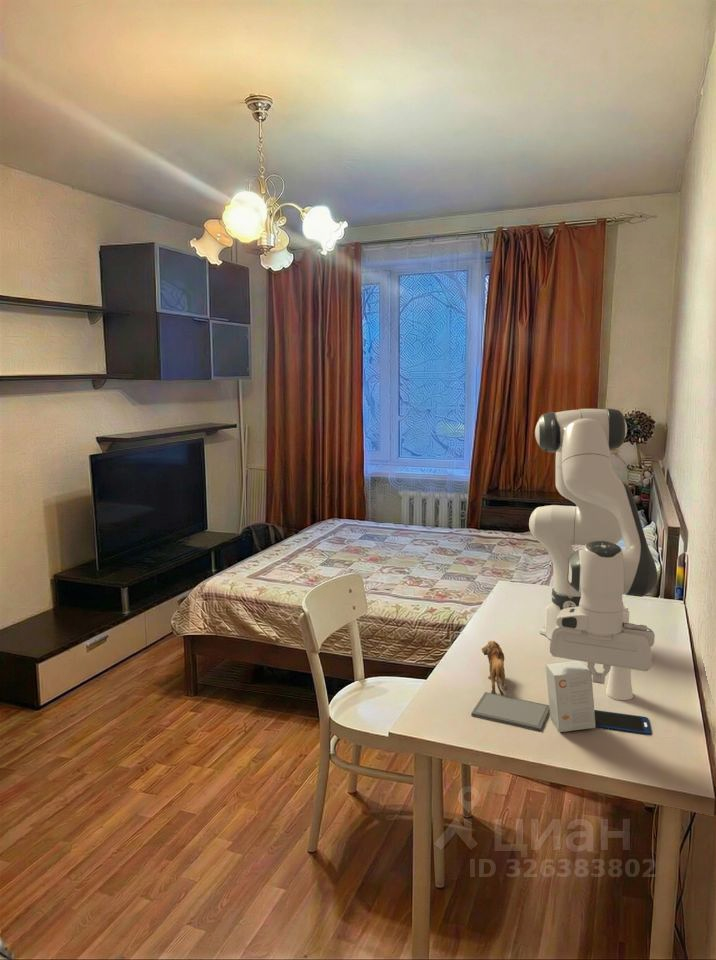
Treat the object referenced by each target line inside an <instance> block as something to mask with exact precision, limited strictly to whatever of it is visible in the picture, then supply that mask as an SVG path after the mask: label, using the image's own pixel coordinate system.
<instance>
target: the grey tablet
mask: <svg viewBox="0 0 716 960" xmlns="http://www.w3.org/2000/svg"><path fill="white" fill-rule="evenodd" d="M549 714H550V707H549V704H545V703H541V702H535V701H532V700H531V701H530V700H526V699H522V698H521V699H520V698H516V697H510V696H506V695H504V696H502V695H501V694H496V693H495V694H492V693H491V692H487V691H485V692H484V693H483V695H482V696H481V698H480V699H479V700H478V703H477V704H476V705H475V707H474V708H473V710H471V714H470V715H471V716H472V717H476V718H482V719H484V720H485V719H486V720H490V721H493V722H500V723H503V724H508V725H513V726H516V727H520V726H521V727H522V728H525V727H526V728H525V729H529V730H535V731H538V730H539V731H538V732H541V731H542V728H543V727H544V724H545V722H546V720H547V717H548V716H549ZM521 727H520V728H521ZM530 728H531V729H530Z"/></svg>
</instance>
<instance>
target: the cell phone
mask: <svg viewBox="0 0 716 960" xmlns="http://www.w3.org/2000/svg"><path fill="white" fill-rule="evenodd" d="M594 712H595V727H596V728H595V729H601V728H602V729H603V730H608V729H609V731H610V730H611V731H616V732H623V733H631V734H637V735H644V736H651V735H652V734H653V733H652V728H651V723H650V722H651V721H650V719H649V718H648V717H647V716H643V715H642V716H641V715H633V714H627V713H619V712H612V711H605V710H598V709H594Z"/></svg>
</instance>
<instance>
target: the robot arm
mask: <svg viewBox="0 0 716 960" xmlns="http://www.w3.org/2000/svg"><path fill="white" fill-rule="evenodd" d="M627 433H628V426H627V421H626V419H625V416H624V414H623V412H622V411H620V410H619V409H614V408H605V409H604V408H603V409H602V408H579V409H570V410H563V411H557V412H554V411H550V412H547V413H542V414H541V415H540V417H539V418H538V421H537V422H536V425H535V429H534V437H535V440H536V443H537V445H538V447H539V448H540V449H541V450H542V451H544V452H546V453H550V454H551V453H552V454H555V488H556V490H557V492H558V493H559V494H560V495H561V496H562V497H564V498H565V499H566V500H569V501H570V502H572V503H574V505H575V506H574V505H560V504H559V505H558V504H551V505H544V506H538V507H535V509H534V510H533V511H532V512H531V514H530V517H529V520H528V521H529V522H528V527H529V531H530V533H531V535H532V536H533V537H534V539H535V540H536V541H538V542H539V543H540V544H541V545H543V547H544V548H545V549H546V551H547V553H548V554H549V556H550V559H551V562H552V570H553V588H552V589H551V603H549V604H548V606H546V609H545V620H544V621H545V622H544V623H545V624H544V625H542V626H540V628H539V629H538V632H539V634H541V635H544V636H546V637H547V638H548V639H549V640H550V642H549V653H550V654H551V656H552V657H554V658H559V659H566V660H571V661H577V660H578V661H582V662H583V663H587V665H586V666H587V667H588V668H589V670H590V672H591V674H592V683H594V684H600V685H605V682H606V677H607V675H608V674H609V673H610V668H611V666H615V667H622V668H628V669H631V670H636V671H642V672H648V671H649V670H650V669H651V668H652V662H653V661H652V647H653V646H654V644H655V639H656V638H655V633H654V631H653V630H652V629H651V628H649V627H648V626H647V625H645V624H640V625H639V624H635V623H630V622H629V623H624V622H623V617H624V606H625V605H624V602H623V595H625V596H629V597H631V596H632V597H640V598H641V597H642V598H643V597H644V596H645V595H647V594H649V593H650V592H651V591H652V590H653V589H654V588H655V587H656V586H657V583H658V570H657V566H656V562H655V559H654V557H653V555H652V552H651V549H650V546H649V545H648V542H647V539H646V534H645V532H644V527H643V524H642V522H641V521H642V520H641V518H640V514H639V511H638V508H637V505H636V501H635V499H634V496H633V493H632V491H631V489H630V487H629V485H628V484H627V483H626V482H623V481H621V480H620V478H619V477H618V476H617V474H616V473H615V471H614V469H613V465H612V459H611V450H617V449H618V448H620V447H621V446H622V445H624V443H625V439H626V437H627ZM622 539H623V543H624V546H625V549H624V550H622V548H621V546H619V545H618V543H619V542H620V541H621V540H622ZM573 546H584V547H583V549H579V550H578V549H577V550H574V548H573ZM623 627H624V628H623ZM596 664H598V665H602V669H603V671H602V672H598V671H597V669H596V668H595V667H596Z"/></svg>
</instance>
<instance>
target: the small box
mask: <svg viewBox="0 0 716 960" xmlns="http://www.w3.org/2000/svg"><path fill="white" fill-rule="evenodd" d="M545 671H546V673H545V674H546V682H547V694H548V695H547V697H548V705H549V707H550V711H549V717H550V720H551V721H552V723H553V725H554V726H555V728H556V729H557V731H558V732H560V733H565V732H571V731H572V732H573V731H581V730H586V729H587V730H588V729H594V728H595V712H594V710H595V702H594V701H595V700H594V689H593V675H592V674H591V672H590V670H589V668H588V667H587V665H586V664H585V662H584V661H578V660H571V661H562V662H555V663H548V664H545ZM595 729H596V728H595Z"/></svg>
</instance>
